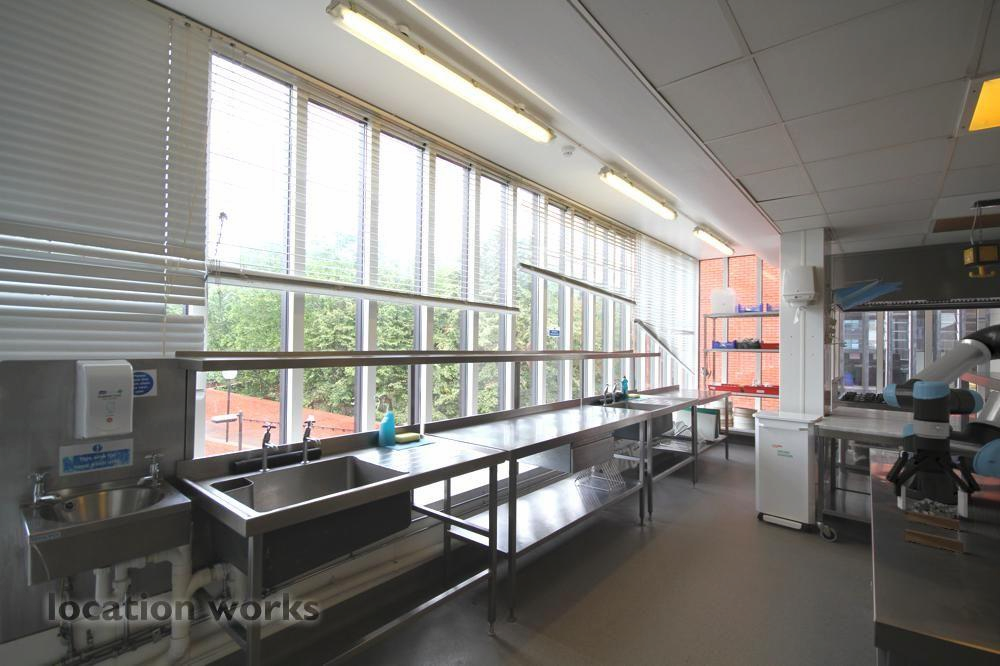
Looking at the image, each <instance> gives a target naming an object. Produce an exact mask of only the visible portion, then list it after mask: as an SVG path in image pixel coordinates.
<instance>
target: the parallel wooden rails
mask: <svg viewBox="0 0 1000 666" xmlns="http://www.w3.org/2000/svg"><path fill="white" fill-rule="evenodd" d="M908 520H911V521H916V522H921V523H925V524H930V525H935V526H940V527H945V528H949V529H954V530H959V531H960V530H961V528H960V527H961V523H960V522H961V521H960V520H959V519H955V518H954V519H952V518H944V517H939V516H934V515H928V514H923V513H918V512H913V511H911V510H907V521H908ZM949 529H948V530H949ZM954 530H953V531H954ZM959 531H958V532H959ZM960 532H961V531H960ZM904 535H905V536H904V537H905V540H907V541H906V542H908V541H912V542H916V543H915V544H917V543H921V544H925V545H930V546H933V547H932V548H934V547H937V548H936V549H939V548H943V549H947V550H946V551H948V550H952V551H955V552H954V553H957V552H960V553H959V554H961V553H963V554H964V541H963V540H960V539H959V540H958V539H956V538H950V537H946V536H941V535H937V534H931V533H927V532H926V533H925V532H922V531H916V530H914V529H913V530H912V529H907V528H905V531H904ZM912 542H911V543H912ZM921 544H920V545H921ZM925 545H924V546H925ZM930 546H929V547H930ZM943 549H942V550H943ZM952 551H951V552H952Z"/></svg>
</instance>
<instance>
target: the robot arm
mask: <svg viewBox="0 0 1000 666" xmlns="http://www.w3.org/2000/svg"><path fill="white" fill-rule="evenodd" d="M996 360H997V361H998V360H1000V323H999V324H993V325H990V326H989V325H988V326H986V327H982V328H980V329H978V330H975V331H973V332H972V333H970V334H966V335H965V336H963V337H962V338H961V339H959V340H958V341H956V342H955V343H954V345H953V347H952V349H950V350H949V351H948V352H946V353H945V354H944V355H942V356H940V357H939V358H938V359H936V360H934V361H933V362H932V363H930V364H929V365H928V366H926V367H925V368H923V369H922V370H921V371H919V372H917V373H916V374H915V375H914V376H912V377H910V378H909V379H908V380H906V381H905V382H903V383H902V384H901V383H890V384H888V385H886V386H885V387H884V389H883V393H882V397H883V399H884V402H885V404H887V405H888V406H890V407H896V408H900V409H907V410H908V409H909V410H913V422H912V423H908V424H905V425H903V428H902V429H903V431H902V436H901V438H902V449H901V450H899V451H898V452H899V453H898V458H897V459H896V460H895V462H894V464H893V465H892V466H891V469H890V470H889V471H888V473H887V475H886V476H885V480H886V481H887V482H889V483H891V484H893V494H894V496H895V497H897V508H899V509H901V510H903V511H906V497H909V498H910V499H911V498H913V499H916V500H918V501H922V500H924V499H926V498H927V499H929V500H931V501H933V502H938V503H941V504H945V505H948V504H949V505H951V504H952V505H954V504H955V505H957V514H958V515H959V516H961V517H963V518H968V505H969V506H970V505H971V504H972V495H973V494H974V493H976V492H979V493H980V492H981V490H982V489H981V486H980V485H979V484H978V482H977V480H976V479H975V477H974V475H978V476H981V477H985V478H994V479H999V480H1000V392H996V391H992V390H994V389H993V388H992V390H991V392H990V393H989V396H988V397H987V399H986V401H985V402H984V399H983V397H982V395H981V394H980V393H979V392H978V391H976V390H974V389H971V388H962V387H958V388H955V387H954V388H953V387H950V385H951V384H953V383H954V382H955V381H957V380H958V379H961V377H962V376H963V375H965V374H966V373H968V372H969V371H971V370H972V369H973V368H976V366H982V365H985V364H987V363H988V362H990V361H996ZM977 413H979V414H978V416H977V418H976V420H974V421H969V422H967V423H965V425H964V427H963V429H962V430H961V431H960V430H954V428H953V426H952V425H951V424H950V423H951V422H950V417H951V415H952V416H958V415H959V416H968V415H976V414H977ZM954 470H957V471H959V472H960V474H961V475H962V477H963V479H964V480H965V481H966V482H965V481H964V480H963V479H962V478H961V477H960V476H959V475H958V474H957V473H956V472H955V471H954ZM973 474H974V475H973Z"/></svg>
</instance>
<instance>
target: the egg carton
mask: <svg viewBox="0 0 1000 666" xmlns="http://www.w3.org/2000/svg"><path fill="white" fill-rule="evenodd" d="M908 507H909V508H910V511H913V512H918V513H923V514H928V515H934V516H939V517H944V518H949V517H950V519H952V518H954V519H955V512H957V508H956V507H953V508H951V507H950V506H949V505H948V504H944V503H938V502H933V501H931V500H929V499H927V498H926V499H924V500H917V501H916V502H909V504H908ZM926 510H929V511H926Z"/></svg>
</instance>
